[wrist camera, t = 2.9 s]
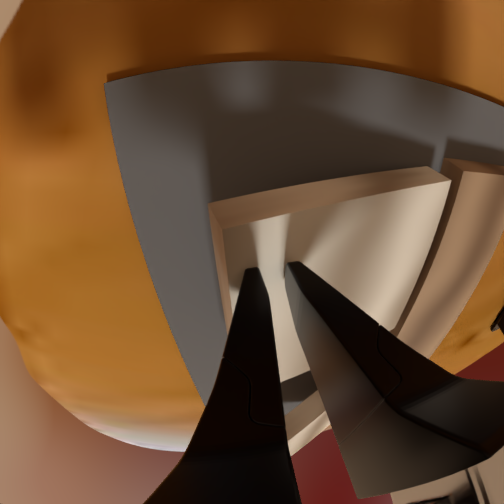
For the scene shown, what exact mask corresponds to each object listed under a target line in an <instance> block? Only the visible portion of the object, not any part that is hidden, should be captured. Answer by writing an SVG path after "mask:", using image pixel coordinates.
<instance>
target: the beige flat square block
mask: <svg viewBox="0 0 504 504" xmlns="http://www.w3.org/2000/svg"><path fill="white" fill-rule="evenodd" d="M285 423H286V428H285V429H286V432H287V439H288V446H289V451H290V456H292V455H293V454H294V453H296V452H297V451H298V450H300V449H301V448H302V447H303V446H305V445H306V444H307V443H308V442H310V441H311V440H312V439H313V438H315V437H316V436H317V435H318V434H319V433H320V432H322V431H323V430H324V429H325V428H326V427H327V426H329V425H330V421H329V418H328V416H327V413H326V410H325V408H324V405H323V402H322V399H321V397H320V394H319V391H318V390H317V391H315V392H314V393H313V394H312V395H311V396H309V397H308V398H307V399H306V400H304V401H303V402H302V403H301V404H299V405H298V406H297V407H295V408H294V409H293V410H292V411H290V412H289V413H288V414H286V415H285Z"/></svg>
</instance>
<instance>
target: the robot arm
mask: <svg viewBox="0 0 504 504" xmlns="http://www.w3.org/2000/svg"><path fill="white" fill-rule="evenodd" d="M285 290H286V294H287V298H288V302H289V306H290V310H291V314H292V318H293V322H294V326H295V330H296V333H297V336H298V339H299V341H300V344H301V346H302V349H303V352H304V354H305V357H306V360H307V362H308V365H309V367H310V370H311V373H312V375H313V378H314V381H315V383H316V386H317V389H318V391H319V394H320V397H321V399H322V402H323V405H324V408H325V410H326V413H327V416H328V418H329V421H330V424H331V426H332V429H333V432H334V435H335V437H336V440H337V443H338V445H339V449H340V451H341V454H342V457H343V459H344V462H345V465H346V468H347V470H348V473H349V476H350V479H351V481H352V484H353V487H354V490H355V493H356V496H357V498H358V499H361V498H367V497H373V496H378V495H383V494H388V493H390V494H391V497H392V500H393V503H394V504H504V382H502V381H485V380H474V379H465V378H461V377H458V376H455V375H453V374H451V373H449V372H448V371H446V370H444V369H443V368H441V367H440V366H438V365H437V364H435V363H434V362H432V361H431V360H429V359H428V358H426V357H425V356H423V355H422V354H420V353H418V352H417V351H415V350H414V349H413V348H411V347H410V346H408V345H407V344H405V343H404V342H402V341H401V340H400V339H399V338H397V337H396V336H395V335H393V334H392V333H391V332H389V331H388V330H387V329H386V328H384V327H383V326H382V325H379V323H378V322H377V321H376V320H374V319H373V318H372V317H371V316H369V315H368V314H367V313H366V312H364V311H363V310H362V309H360V308H359V307H358V306H357V305H355V304H354V303H353V302H352V301H350V300H349V299H348V298H347V297H345V296H344V295H343V294H341V293H340V292H339V291H338V290H336V289H335V288H334V287H333V286H331V285H330V284H329V283H327V282H326V281H325V280H324V279H322V278H321V277H320V276H318V275H317V274H316V273H315V272H313V271H312V270H311V269H309V268H308V267H307V266H305V265H304V264H303V263H302V262H300V261H293V262H288V263H286V266H285ZM499 328H500V330H501V331H502V333H503V335H504V310H503V312H502V313H501V315H500V316H499V317H498V319H497V320H496V322H495V323H494V324H493V326H492V327H491V329H490V330H491V331H492V332H493V331H495V330H497V329H499ZM222 357H223V358H222V359H221V362H220V366H219V370H218V373H217V377H216V380H215V383H214V386H213V389H212V392H211V394H210V397H209V399H208V402H207V404H206V407H205V409H204V411H203V414H202V416H201V418H200V421H199V423H198V425H197V427H196V430H195V432H194V434H193V436H192V439H191V441H190V443H189V445H188V447H187V449H186V451H185V453H184V455H183V456H182V458H181V459H180V461H179V462H178V464H177V465H176V466H175V467H174V469H173V470H172V471H171V472H170V473H169V475H168V476H167V477H166V478H165V479H164V480H163V482H162V483H161V484H160V485H159V486H158V488H157V489H156V490H155V491H154V492H153V493H152V494H151V496H150V497H149V498H148V499H147V500H146V501H145V502H144V503H143V504H302V503H301V499H300V495H299V490H298V486H297V482H296V478H295V473H294V469H293V465H292V461H291V456H290V451H289V446H288V439H287V432H286V429H285V428H286V423H285V415H284V407H283V399H282V391H281V382H280V374H279V366H278V359H277V351H276V343H275V335H274V328H273V320H272V312H271V305H270V298H269V294H268V291H267V288H266V286H265V283H264V280H263V277H262V274H261V272H260V269H259V268H258V267H252V268H247V269H245V271H244V275H243V279H242V282H241V286H240V290H239V294H238V298H237V302H236V305H235V309H234V313H233V317H232V321H231V325H230V328H229V332H228V336H227V340H226V344H225V348H224V352H223V355H222Z"/></svg>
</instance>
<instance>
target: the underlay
mask: <svg viewBox="0 0 504 504" xmlns="http://www.w3.org/2000/svg"><path fill="white" fill-rule="evenodd" d="M104 88H105V95H106V102H107V108H108V114H109V119H110V125H111V130H112V135H113V140H114V145H115V150H116V155H117V159H118V164H119V168H120V172H121V176H122V180H123V184H124V188H125V192H126V196H127V200H128V204H129V207H130V211H131V215H132V218H133V222H134V225H135V228H136V232H137V235H138V238H139V242H140V245H141V248H142V251H143V254H144V257H145V260H146V264H147V267H148V269H149V272H150V275H151V278H152V281H153V284H154V287H155V290H156V292H157V295H158V298H159V300H160V303H161V306H162V308H163V311H164V314H165V316H166V319H167V321H168V324H169V326H170V329H171V331H172V334H173V336H174V339H175V341H176V344H177V346H178V348H179V351H180V353H181V355H182V358H183V360H184V362H185V364H186V367H187V369H188V371H189V373H190V375H191V378H192V380H193V382H194V384H195V386H196V388H197V390H198V392H199V395H200V397H201V399H202V401H203V403H204V405H205V407H206V404H207V402H208V399H209V397H210V394H211V392H212V389H213V386H214V383H215V380H216V377H217V373H218V370H219V366H220V362H221V359H222V358H223V357H222V355H223V352H224V348H225V344H226V340H227V336H228V335H227V329H226V323H225V317H224V311H223V305H222V299H221V293H220V286H219V280H218V274H217V267H216V260H215V253H214V247H213V240H212V232H211V225H210V218H209V210H208V203H212V202H216V201H221V200H225V199H230V198H235V197H239V196H244V195H249V194H254V193H258V192H263V191H268V190H274V189H279V188H284V187H289V186H295V185H300V184H306V183H311V182H317V181H323V180H329V179H335V178H342V177H348V176H354V175H361V174H368V173H375V172H383V171H390V170H398V169H406V168H415V167H424V166H428V167H430V168H431V169H433V170H435V171H437V172H438V173H440V171H441V167H442V163H443V158H452V159H460V160H468V161H475V162H482V163H489V164H495V165H501V166H504V107H503V106H500V105H498V104H496V103H493V102H491V101H488V100H486V99H483V98H481V97H478V96H475V95H473V94H470V93H467V92H464V91H461V90H458V89H455V88H452V87H449V86H445V85H442V84H439V83H435V82H431V81H428V80H424V79H420V78H416V77H412V76H407V75H403V74H398V73H393V72H388V71H383V70H377V69H371V68H365V67H358V66H350V65H342V64H332V63H321V62H305V61H239V62H223V63H212V64H202V65H193V66H186V67H179V68H172V69H166V70H160V71H155V72H150V73H145V74H140V75H135V76H131V77H127V78H122V79H118V80H115V81H111V82H107V83H104ZM317 390H318V389H317V386H316V383H315V381H314V378H313V375H312V373H311V370H309V371H307V372H304V373H302V374H300V375H297V376H295V377H292V378H290V379H287V380H285V381H282V382H281V391H282V399H283V407H284V415H286V414H288V413H289V412H290V411H292V410H293V409H294V408H295V407H297V406H298V405H299V404H301V403H302V402H303V401H304V400H306V399H307V398H308V397H309V396H311V395H312V394H313V393H314V392H315V391H317Z"/></svg>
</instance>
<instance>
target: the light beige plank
mask: <svg viewBox="0 0 504 504" xmlns="http://www.w3.org/2000/svg"><path fill="white" fill-rule="evenodd" d="M450 184H451V180H450V179H449V178H447V177H445V176H444V175H442V174H440V173H438V172H437V171H435V170H433V169H431V168H430V167H428V166H424V167H415V168H406V169H398V170H390V171H383V172H375V173H368V174H361V175H354V176H348V177H342V178H335V179H329V180H323V181H317V182H311V183H306V184H300V185H295V186H289V187H284V188H279V189H274V190H268V191H263V192H258V193H254V194H249V195H244V196H239V197H235V198H230V199H225V200H221V201H216V202H212V203H208V210H209V218H210V225H211V232H212V240H213V247H214V253H215V260H216V267H217V274H218V280H219V286H220V293H221V299H222V305H223V311H224V317H225V323H226V329H227V335H228V332H229V328H230V325H231V321H232V317H233V313H234V309H235V305H236V302H237V298H238V294H239V290H240V286H241V282H242V279H243V275H244V271H245V269H247V268H252V267H258V268H259V269H260V272H261V274H262V277H263V280H264V283H265V286H266V288H267V291H268V294H269V298H270V305H271V312H272V320H273V328H274V335H275V343H276V351H277V359H278V366H279V374H280V382H282V381H285V380H287V379H290V378H292V377H295V376H297V375H300V374H302V373H304V372H307V371H309V370H310V367H309V365H308V362H307V360H306V357H305V354H304V352H303V349H302V346H301V344H300V341H299V339H298V336H297V333H296V330H295V326H294V322H293V318H292V314H291V310H290V306H289V302H288V298H287V294H286V290H285V266H286V263H288V262H293V261H300V262H302V263H303V264H304V265H305V266H307V267H308V268H309V269H311V270H312V271H313V272H315V273H316V274H317V275H318V276H320V277H321V278H322V279H324V280H325V281H326V282H327V283H329V284H330V285H331V286H333V287H334V288H335V289H336V290H338V291H339V292H340V293H341V294H343V295H344V296H345V297H347V298H348V299H349V300H350V301H352V302H353V303H354V304H355V305H357V306H358V307H359V308H360V309H362V310H363V311H364V312H366V313H367V314H368V315H369V316H371V317H372V318H373V319H374V320H376V321H377V322H378V323H379V325H382V326H383V327H384V328H386V329H387V330H388V331H390V330H392V329H394V328H395V326H396V324H397V322H398V320H399V318H400V316H401V314H402V312H403V310H404V308H405V306H406V304H407V302H408V299H409V297H410V295H411V293H412V291H413V288H414V286H415V284H416V282H417V279H418V277H419V275H420V272H421V270H422V267H423V265H424V262H425V260H426V257H427V255H428V252H429V249H430V247H431V244H432V241H433V238H434V236H435V233H436V230H437V227H438V224H439V221H440V218H441V215H442V211H443V208H444V205H445V202H446V198H447V195H448V191H449V187H450Z"/></svg>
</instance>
